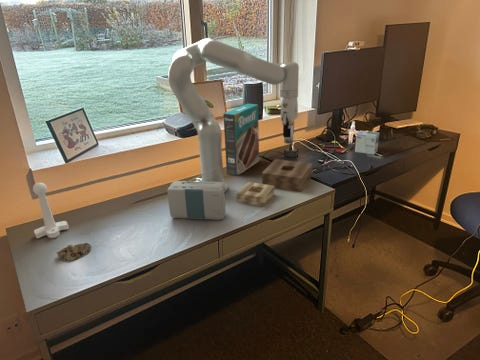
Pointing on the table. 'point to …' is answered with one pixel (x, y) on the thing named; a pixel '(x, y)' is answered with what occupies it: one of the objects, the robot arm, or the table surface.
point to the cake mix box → (241, 138)
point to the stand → (255, 194)
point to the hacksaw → (326, 168)
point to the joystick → (47, 215)
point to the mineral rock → (73, 252)
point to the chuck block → (287, 175)
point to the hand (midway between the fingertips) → (288, 135)
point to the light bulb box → (367, 142)
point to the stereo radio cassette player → (197, 199)
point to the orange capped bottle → (290, 139)
